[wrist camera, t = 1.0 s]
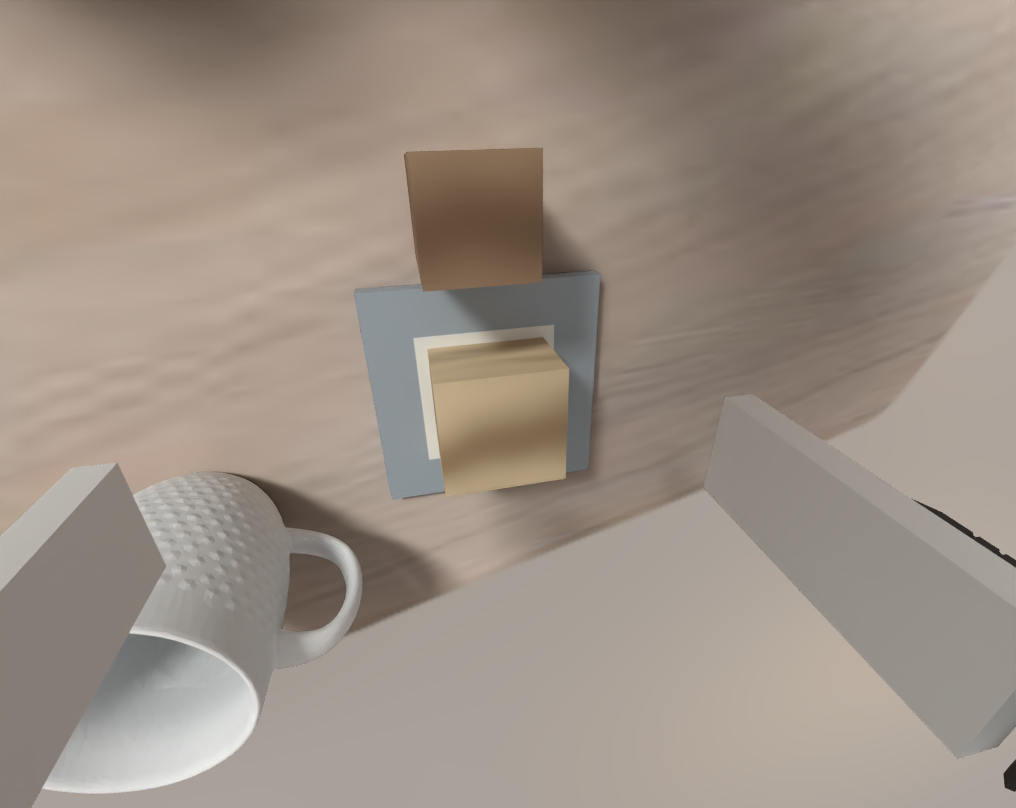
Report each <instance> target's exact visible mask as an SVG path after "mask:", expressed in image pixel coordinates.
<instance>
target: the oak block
mask: <svg viewBox="0 0 1016 808" xmlns="http://www.w3.org/2000/svg"><path fill="white" fill-rule="evenodd" d="M427 353H428V361H429V370H430V378H431V387H432V396H433V404H434V413H435V421H436V430H437V438H438V447H439V454H440V461H441V468H442V474H443V481H444V488H445V495H446V497H451V496H458V495H464V494H470V493H477V492H483V491H490V490H496V489H502V488H509V487H515V486H522V485H528V484H535V483H541V482H547V481H554V480H560V479H566V451H567V422H568V393H569V368H568V367H567V365H566V364H565V363H564V362H563V361H562V359H561V358H560V357H559V356H558V355H557V353H556V352H555V351H554V350H553V349H552V347H551V346H550V345H549V344H548V343H547V341H546V340H545V339H544V338H543V337H539V338H529V339H519V340H509V341H499V342H489V343H479V344H470V345H460V346H450V347H440V348H430V349H427Z"/></svg>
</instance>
